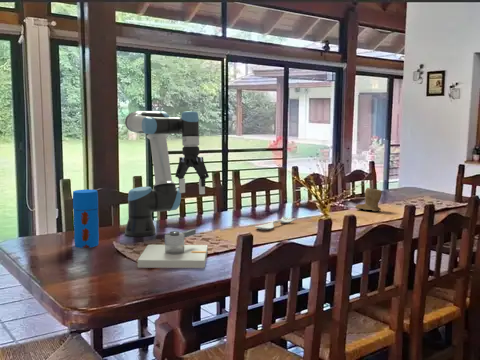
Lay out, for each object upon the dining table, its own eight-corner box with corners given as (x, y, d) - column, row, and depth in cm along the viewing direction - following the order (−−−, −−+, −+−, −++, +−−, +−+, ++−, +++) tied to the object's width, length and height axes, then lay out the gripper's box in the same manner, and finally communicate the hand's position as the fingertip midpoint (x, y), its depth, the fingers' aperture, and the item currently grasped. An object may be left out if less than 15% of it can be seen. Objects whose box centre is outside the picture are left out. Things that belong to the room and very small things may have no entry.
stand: (137, 267, 192) (137, 259, 192) (148, 251, 216) (148, 243, 215) (204, 268, 192) (204, 259, 192) (207, 251, 216) (207, 244, 216)
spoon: (297, 223, 280) (297, 217, 280) (265, 232, 255) (265, 226, 254) (283, 221, 286) (283, 215, 285) (251, 230, 260) (251, 224, 260)
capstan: (176, 255, 198) (176, 235, 197) (160, 252, 202) (160, 232, 201) (201, 245, 214) (201, 227, 213) (186, 243, 218) (186, 225, 217)
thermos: (73, 248, 219) (71, 193, 216) (74, 242, 229) (73, 189, 226) (99, 247, 222) (97, 192, 219) (99, 241, 232) (97, 189, 229)
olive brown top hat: (384, 210, 321) (385, 188, 319) (375, 213, 312) (376, 189, 310) (363, 207, 331) (364, 185, 329) (354, 210, 322) (355, 187, 320)
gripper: (166, 146, 226) (168, 192, 227) (203, 145, 208) (204, 195, 210) (179, 146, 231) (181, 191, 232) (216, 145, 214) (217, 194, 215)
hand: (192, 193), depth 221 cm, fingers open, 13 cm apart
